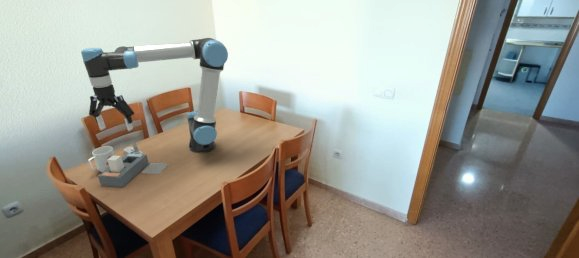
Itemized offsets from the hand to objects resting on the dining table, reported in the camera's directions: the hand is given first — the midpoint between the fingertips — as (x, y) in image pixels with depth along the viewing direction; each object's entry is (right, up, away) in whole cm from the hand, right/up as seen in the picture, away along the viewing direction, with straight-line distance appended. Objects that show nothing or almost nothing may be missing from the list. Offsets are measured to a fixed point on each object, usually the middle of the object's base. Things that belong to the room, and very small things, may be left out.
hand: (116, 129), depth 125 cm
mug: (-15, -22, +14) cm, 30 cm away
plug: (-2, -24, +6) cm, 25 cm away
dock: (-2, -23, +11) cm, 25 cm away
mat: (+10, -21, +16) cm, 28 cm away
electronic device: (-9, -15, +29) cm, 34 cm away
